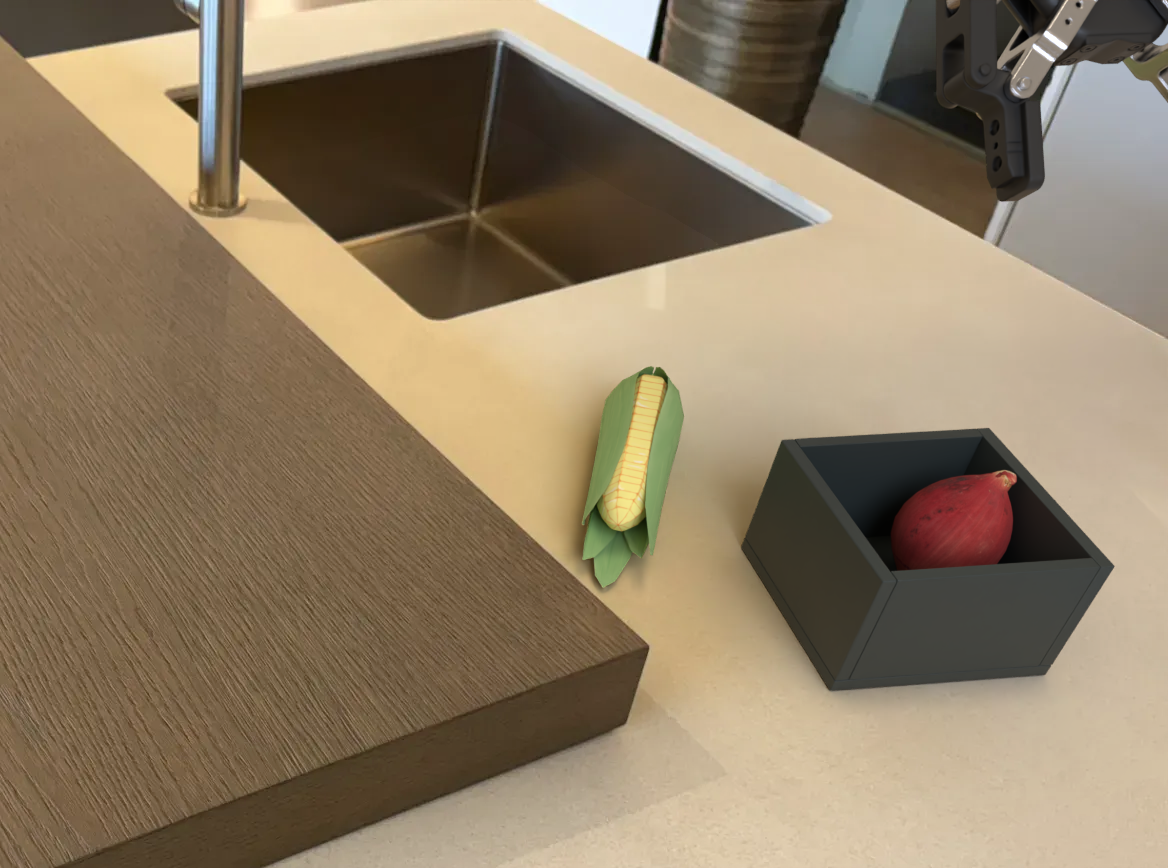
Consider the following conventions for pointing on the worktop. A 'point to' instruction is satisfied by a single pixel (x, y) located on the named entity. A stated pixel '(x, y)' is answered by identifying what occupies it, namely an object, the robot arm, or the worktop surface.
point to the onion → (955, 523)
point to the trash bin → (924, 596)
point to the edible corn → (631, 470)
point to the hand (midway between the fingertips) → (1111, 191)
